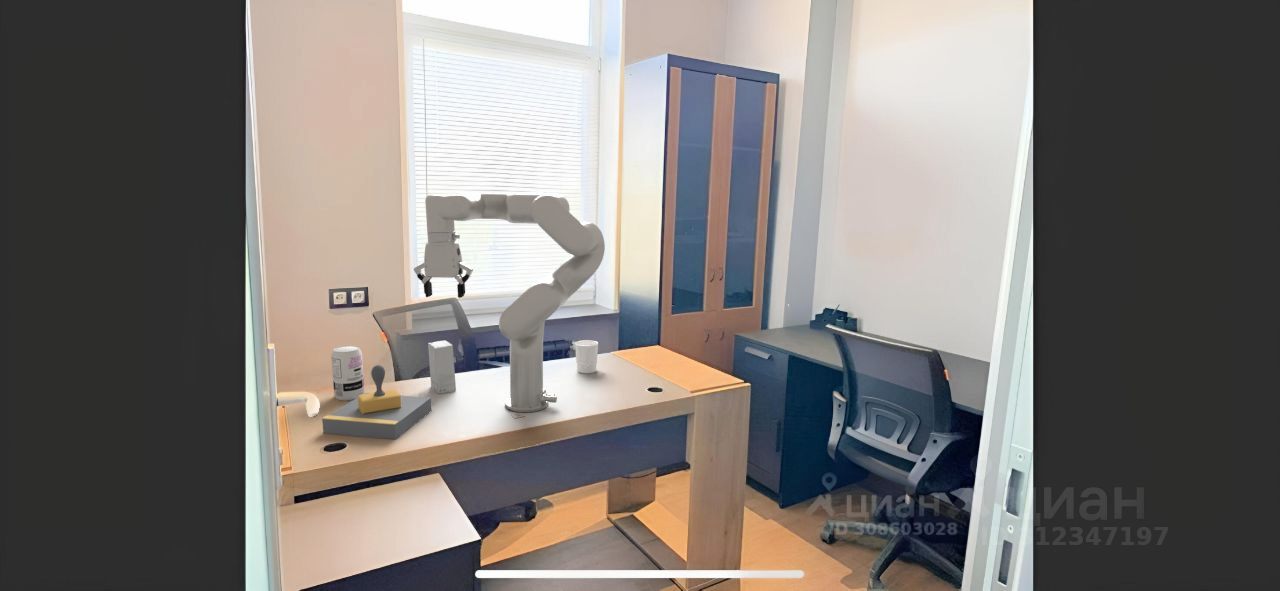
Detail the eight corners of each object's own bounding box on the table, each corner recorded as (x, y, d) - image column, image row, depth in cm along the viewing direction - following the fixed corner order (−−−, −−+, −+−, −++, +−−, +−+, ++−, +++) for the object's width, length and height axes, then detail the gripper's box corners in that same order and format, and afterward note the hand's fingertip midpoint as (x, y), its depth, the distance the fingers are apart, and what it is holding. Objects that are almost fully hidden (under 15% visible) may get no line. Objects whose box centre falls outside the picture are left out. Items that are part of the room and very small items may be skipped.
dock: (431, 411, 181) (431, 397, 180) (395, 439, 162) (394, 424, 161) (366, 405, 184) (365, 392, 183) (323, 433, 164) (322, 418, 164)
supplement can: (340, 392, 195) (337, 344, 192) (368, 391, 195) (365, 345, 192) (330, 401, 187) (326, 352, 184) (359, 401, 187) (355, 352, 184)
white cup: (596, 374, 218) (597, 346, 216) (574, 373, 218) (574, 345, 216) (598, 367, 225) (599, 340, 223) (576, 366, 225) (576, 339, 223)
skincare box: (456, 391, 198) (454, 345, 195) (436, 394, 194) (434, 348, 192) (448, 383, 205) (446, 339, 202) (429, 386, 201) (427, 341, 198)
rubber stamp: (396, 401, 177) (394, 360, 175) (401, 407, 172) (399, 365, 170) (358, 407, 172) (355, 365, 169) (362, 414, 167) (359, 371, 165)
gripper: (475, 236, 184) (478, 294, 188) (418, 236, 186) (421, 293, 189) (466, 239, 177) (469, 299, 180) (406, 239, 179) (410, 298, 182)
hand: (445, 296), depth 185 cm, fingers open, 9 cm apart
